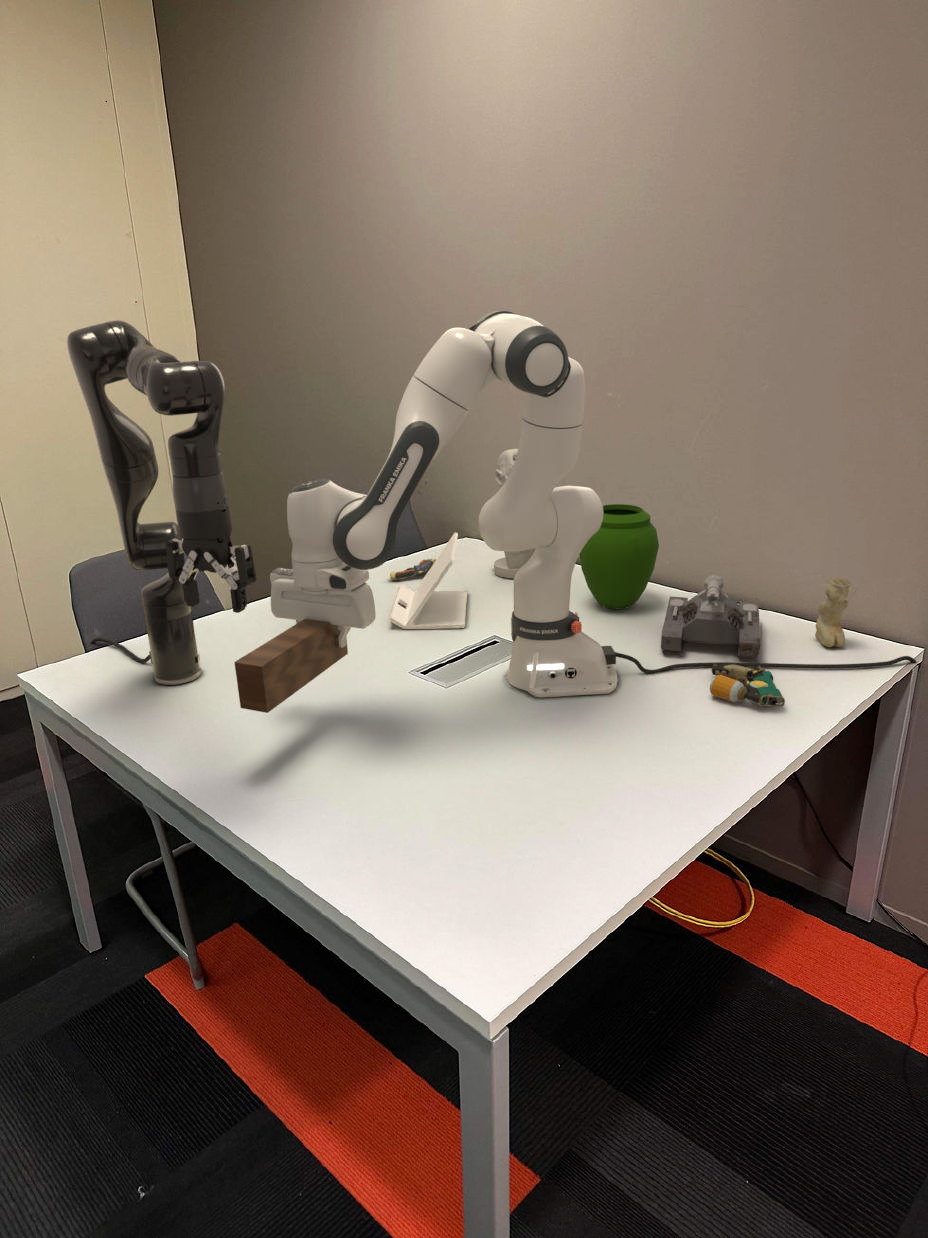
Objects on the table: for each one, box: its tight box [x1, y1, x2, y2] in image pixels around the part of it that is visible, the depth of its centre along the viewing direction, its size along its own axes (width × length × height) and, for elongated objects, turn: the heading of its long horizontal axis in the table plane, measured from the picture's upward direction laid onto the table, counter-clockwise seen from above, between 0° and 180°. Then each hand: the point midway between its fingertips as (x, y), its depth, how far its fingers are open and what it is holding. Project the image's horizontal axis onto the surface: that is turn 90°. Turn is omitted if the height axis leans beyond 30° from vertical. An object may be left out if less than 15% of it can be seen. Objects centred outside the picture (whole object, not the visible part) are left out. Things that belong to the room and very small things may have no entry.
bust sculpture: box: [493, 448, 536, 579], centre depth 231 cm, size 16×24×35 cm
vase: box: [579, 503, 660, 610], centre depth 210 cm, size 20×20×24 cm
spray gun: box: [709, 663, 786, 707], centre depth 166 cm, size 4×17×15 cm
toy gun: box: [389, 558, 437, 581], centre depth 244 cm, size 3×19×10 cm
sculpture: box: [814, 576, 852, 648], centre depth 185 cm, size 6×7×15 cm
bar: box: [234, 619, 349, 714], centre depth 147 cm, size 26×5×8 cm, turn 157°
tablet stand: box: [388, 531, 468, 630], centre depth 211 cm, size 18×25×17 cm
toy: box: [660, 574, 761, 660], centre depth 189 cm, size 25×20×15 cm
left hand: (216, 608), depth 130 cm, fingers open, 8 cm apart
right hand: (325, 644), depth 156 cm, fingers closed on bar, 5 cm apart
